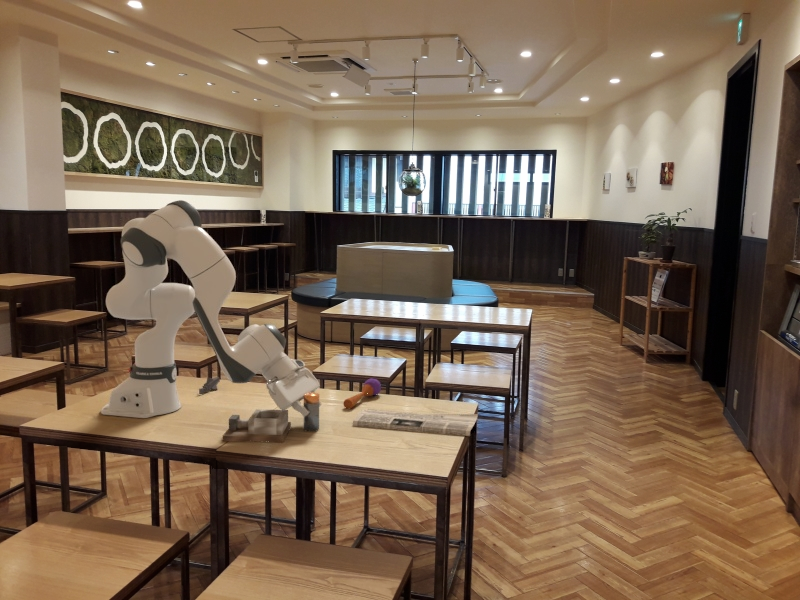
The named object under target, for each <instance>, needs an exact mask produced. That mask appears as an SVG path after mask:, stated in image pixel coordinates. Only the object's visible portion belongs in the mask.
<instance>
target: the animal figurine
mask: <svg viewBox="0 0 800 600" xmlns="http://www.w3.org/2000/svg"><path fill="white" fill-rule="evenodd" d="M220 379H221V378H220V377H219V376H215V377H213V378H212V377H209V376H208V377H207V378H206V382H205V383H203V385H202V387H201V388H198V390H199V393H198V394H202V395H204V394H205V393H208V392H210V391H211V390H212V391H217V390H218V384H219V383H220ZM216 389H217V390H216ZM203 393H204V394H203Z"/></svg>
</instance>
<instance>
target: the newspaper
mask: <svg viewBox="0 0 800 600" xmlns="http://www.w3.org/2000/svg"><path fill="white" fill-rule="evenodd" d="M478 416H479V414H478V413H475V414H474V413H468V414H467V413H418V412H416V413H413V412H406V411H395V410H394V411H393V410H384V409H375V408H374V409H372V408H368V409H364V410H360V412H358V414H357V415H356V416H355V418H354V419H353V420H352V426H353V427H360V426H362V427H363V428H372V429H373V428H375V429H383V428H385V430H386V429H387V430H394V429H398V430H399V431H405V430H408V432H419V433H429V434H430V433H431V434H442V435H453V436H464V437H470V436H471V430H472V429H473V427H474V426H475V423H476V422H477V420H478ZM398 430H397V431H398Z"/></svg>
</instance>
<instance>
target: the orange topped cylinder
mask: <svg viewBox="0 0 800 600" xmlns="http://www.w3.org/2000/svg"><path fill="white" fill-rule="evenodd" d="M319 401H320V393H319V392H315V393H314V392H310V393H307V394H305V395H304V399H303V406H304V407H305V408H306V407H307V408H308V410H309V411H310V413H309V414H308V415H307V416H305V417H304V416H303V430H304V431H305V430H306V431H305V432H317V431H318V429H320V407H319ZM316 430H317V431H316Z"/></svg>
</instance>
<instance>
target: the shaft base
mask: <svg viewBox="0 0 800 600" xmlns="http://www.w3.org/2000/svg"><path fill="white" fill-rule="evenodd" d="M291 428H292V422H291V421H289V410H288V409H286V410H284V411H283V410H281V409H259V408H258V409H255V411H253V413H252V414H251V416H250V417H249V418H248V419H241V417H240V414H232V415H230V417H229V418H228V428H227V430H225V432H224V434H222V442H240V441H253V442H252V443H254V441H258V442H257V443H284V441H285V439H286V438H287V436H288V434H287V433H289V432H288V431H290V430H291ZM289 429H290V430H289ZM259 441H260V442H259ZM261 441H263V442H261ZM266 441H267V442H266ZM268 441H269V442H268Z"/></svg>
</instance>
